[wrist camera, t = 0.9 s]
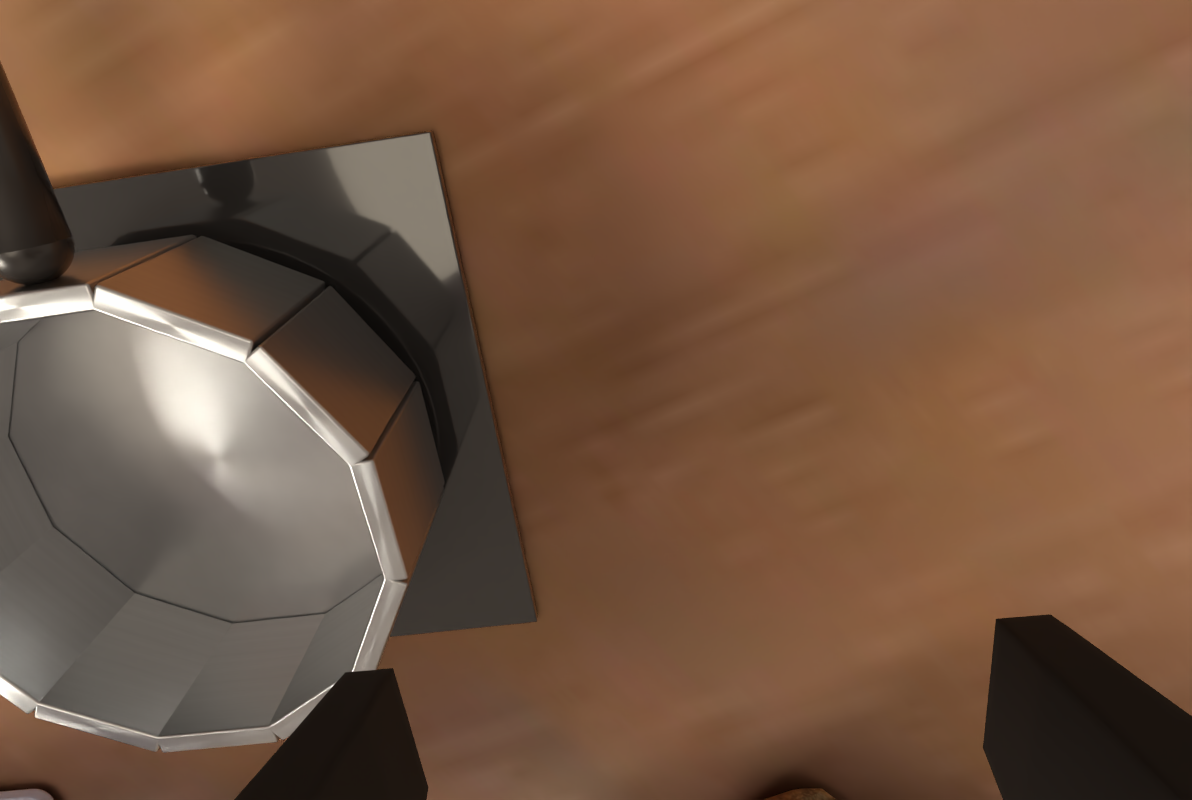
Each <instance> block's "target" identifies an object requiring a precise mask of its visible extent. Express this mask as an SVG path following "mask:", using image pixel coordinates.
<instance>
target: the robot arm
mask: <svg viewBox="0 0 1192 800" xmlns="http://www.w3.org/2000/svg"><path fill="white" fill-rule="evenodd" d="M983 749H984V752H985V754H986V757H987V759H988V762H989V765H990V767H991V770H992V772H993V775H994V777H995V780H996V783H997V785H998V788H999V790H1000V793H1001V796H1002V798H1003V800H1192V716H1191V715H1189V714H1188V713H1186V712H1185V711H1184V710H1182V709H1181V708H1179V707H1178V706H1177V705H1175V704H1174V703H1172V702H1171V701H1170V700H1168V699H1167V698H1165V697H1164V696H1163V695H1161V694H1160V693H1159V692H1157V691H1156V690H1154V689H1153V688H1152V687H1150V686H1149V685H1148V684H1146V683H1145V682H1143V681H1142V680H1141V679H1139V678H1138V677H1137V676H1135V675H1134V674H1132V673H1131V672H1130V671H1128V670H1127V669H1126V668H1124V667H1123V666H1121V665H1120V664H1119V663H1117V662H1116V661H1115V660H1113V659H1112V658H1110V657H1109V656H1108V655H1106V654H1105V653H1104V652H1102V651H1101V650H1100V649H1098V648H1097V647H1095V646H1094V645H1093V644H1091V643H1090V642H1089V641H1087V640H1086V639H1084V638H1083V637H1082V636H1080V635H1079V634H1077V633H1076V632H1075V631H1073V630H1072V629H1070V628H1069V627H1068V626H1066V625H1065V624H1063V623H1062V622H1060V621H1059V620H1058V619H1056V618H1055V617H1053V616H1052V615H1039V616H1027V617H1014V618H1002V619H996V625H995V635H994V644H993V654H992V664H991V674H990V684H989V694H988V704H987V714H986V723H985V733H984V743H983ZM427 792H428V785H427V781H426V778H425V775H424V771H423V768H422V764H421V761H420V758H419V754H418V751H417V748H416V744H415V741H414V737H413V734H412V731H411V727H410V724H409V721H408V717H407V714H406V710H405V707H404V704H403V700H402V697H401V694H400V690H399V687H398V683H397V680H396V677H395V673H394V670H393V668H392V669H380V670H368V671H355V672H345V673H344V674H343V675H342V677H341V678H340V679H339V680H338V681H337V682H336V683H335V684H334V686H333V687H332V688H331V689H330V690H329V691H328V692H327V694H326V695H325V696H324V697H323V698H322V699H321V700H320V702H319V703H318V704H317V705H316V706H315V707H314V709H313V710H312V711H311V712H310V713H309V714H308V715H307V717H306V718H305V719H304V720H303V721H302V722H301V724H300V725H299V726H298V727H297V728H296V729H295V731H294V732H293V733H292V734H291V735H290V736H289V738H288V739H287V740H286V741H285V742H284V743H283V745H282V746H281V747H280V748H279V749H278V750H277V752H276V753H275V754H274V755H273V756H272V757H271V758H270V760H269V761H268V762H267V763H266V764H265V765H264V767H263V768H262V769H261V770H260V771H259V772H258V773H257V775H256V776H255V777H254V778H253V779H252V780H251V781H250V782H249V784H248V785H247V786H246V787H245V788H244V789H243V790H242V791H241V793H240V794H239V795H238V796H237V797H236V798H235V799H234V800H426V799H427ZM0 800H54V799H53V797H52V796H51V795H50V794H49V793H47V792H46V791H44V790H41V789H24V790H13V791H2V792H0Z"/></svg>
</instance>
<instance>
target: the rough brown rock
mask: <svg viewBox="0 0 1192 800" xmlns="http://www.w3.org/2000/svg"><path fill="white" fill-rule="evenodd" d="M764 800H836V799H835V798H834V797H832V796H831V795H830V794H828V793H827V792H826V791H824V790H823V789H796V790H791V791H788V792H785V793H782V794H779V795H776V796H773V797H770V798H767V799H764Z"/></svg>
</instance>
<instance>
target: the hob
mask: <svg viewBox="0 0 1192 800" xmlns="http://www.w3.org/2000/svg"><path fill="white" fill-rule="evenodd" d="M53 190H54V192H55V195H56V197H57V200H58V202H59V204H60V207H61V209H62V212H63V214H64V216H65V219H66V221H67V224H68V226H69V229H70V231H71V233H72V236H73V240H74V243H75V252H77V251H83V250H90V249H97V248H104V247H111V246H118V245H125V244H131V243H138V242H145V241H152V240H159V239H166V238H173V237H180V236H187V235H195V236H196V238H198V237H200V236H205V237H207V238H210V239H213V240H215V241H218V242H220V243H223V244H226V245H228V246H231V247H234V248H236V249H239V250H242V251H244V252H247V253H250V254H252V255H255V256H258V257H260V258H263V259H266V260H268V261H271V262H274V263H276V264H279V265H282V266H284V267H287V268H290V269H292V270H295V271H298V272H300V273H303V274H306V275H308V276H311V277H314V278H316V279H319V280H322V281H324V282H325V285H329V284H334V285H335V289H336V292H337V293H338V294H339V295H340V296H341V297H342V298H343V299H344V300H345V301H346V302H347V303H348V304H349V305H350V307H351V308H352V309H353V310H354V311H355V312H356V313H357V314H358V315H359V316H360V317H361V318H362V319H363V320H364V321H365V322H366V324H367V325H368V326H369V327H370V328H371V329H372V330H373V331H374V332H375V333H376V334H377V335H378V336H379V337H380V338H381V339H382V341H383V342H384V343H385V344H386V345H387V346H388V347H389V348H390V349H391V350H392V351H393V352H394V353H395V354H396V355H397V356H398V358H399V359H400V360H401V361H402V362H403V363H404V364H405V365H406V366H407V367H408V368H409V369H410V370H411V371H412V372H413V373H414V375H415V376H416V377H415V379H414V381H413V382H419V383H420V387H421V391H422V395H423V399H424V403H425V406H426V410H427V414H428V418H429V422H430V426H431V430H432V434H433V438H434V442H435V446H436V450H437V454H438V458H439V462H440V465H441V469H442V473H443V477H444V481H445V483H444V486H443V487H444V492H443V495H442V498H441V501H440V503H439V506H438V509H437V511H436V514H435V517H434V519H433V522H432V525H431V527H430V530H429V533H428V536H427V538H426V541H425V544H424V546H423V549H422V552H421V554H420V557H419V560H418V562H417V565H416V568H415V571H414V573H413V576H412V579H411V581H410V584H409V586H408V589H407V592H406V594H405V597H404V600H403V602H402V605H401V608H400V610H399V613H398V615H397V618H396V621H395V623H394V626H393V629H392V631H391V634H390V637H394V636H404V635H414V634H423V633H433V632H443V631H452V630H462V629H472V628H482V627H491V626H501V625H511V624H521V623H530V622H537V618H538V613H537V609H536V604H535V600H534V595H533V590H532V586H531V581H530V576H529V572H528V567H527V563H526V558H525V553H524V549H523V544H522V539H521V535H520V530H519V526H518V521H517V516H516V512H515V507H514V502H513V498H512V493H511V489H510V484H509V479H508V475H507V470H506V465H505V461H504V456H503V452H502V447H501V442H500V438H499V433H498V428H497V424H496V419H495V415H494V410H493V405H492V401H491V396H490V392H489V387H488V382H487V378H486V373H485V368H484V364H483V359H482V355H481V350H480V345H479V341H478V336H477V331H476V327H475V322H474V318H473V313H472V308H471V304H470V299H469V294H468V290H467V285H466V281H465V276H464V271H463V267H462V262H461V257H460V253H459V248H458V244H457V239H456V234H455V230H454V225H453V220H452V216H451V211H450V207H449V202H448V197H447V193H446V188H445V183H444V179H443V174H442V170H441V165H440V160H439V156H438V151H437V146H436V142H435V137H434V133H433V131H432V130H430V131H424V132H417V133H411V134H404V135H398V136H391V137H384V138H378V139H371V140H365V141H358V142H352V143H345V144H338V145H332V146H325V147H319V148H312V149H306V150H299V151H293V152H286V153H279V154H273V155H266V156H260V157H253V158H247V159H240V160H233V161H227V162H220V163H214V164H207V165H201V166H194V167H187V168H181V169H174V170H168V171H161V172H155V173H148V174H141V175H135V176H128V177H122V178H115V179H109V180H102V181H95V182H89V183H82V184H76V185H69V186H63V187H56V188H53ZM1 280H3V278H1V277H0V281H1Z"/></svg>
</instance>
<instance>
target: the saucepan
mask: <svg viewBox="0 0 1192 800" xmlns="http://www.w3.org/2000/svg"><path fill="white" fill-rule="evenodd" d="M0 277H1V278H3V280H1V281H0V695H2V696H3V697H4V698H6V699H7V700H9V701H10V702H11V703H13V704H14V705H16V706H17V707H18V708H20V709H21V710H23V711H24V712H25V713H28V714H29V713H31V712H32V711H34V710H35V714H34V716H35V717H36V718H38V719H42V720H45V721H49V722H52V723H56V724H59V725H63V726H66V727H70V728H73V729H77V730H81V731H84V732H88V733H91V734H95V735H98V736H102V737H105V738H109V739H112V740H116V741H119V742H123V743H126V744H130V745H133V746H137V747H140V748H144V749H147V750H151V751H154V752H157V751H158V750H159V748H161V750H162V752H164V753H167V752H177V751H188V750H199V749H209V748H220V747H231V746H241V745H252V744H263V743H274V742H277V741H278V740H279V738H280V739H282V740H284V739H286V738H287V737H289V736H290V735H291V734H292V733H293V732H294V731H295V729H296V728H297V727H298V726H299V725H300V724H301V722H302V721H303V720H304V719H305V718H306V717H307V715H308V714H309V713H310V712H311V711H312V710H313V709H314V707H315V706H316V705H317V704H318V703H319V702H320V700H321V699H322V698H323V697H324V696H325V695H326V694H327V692H328V691H329V690H330V689H331V688H332V687H333V686H334V684H335V683H336V682H337V681H338V680H339V679H340V678H341V677H342V675H343V674H344V673H345V672H355V671H368V670H377V668H378V666H379V663H380V660H381V658H382V655H383V652H384V650H385V647H386V645H387V642H388V639H389V637H390V634H391V631H392V629H393V626H394V623H395V621H396V618H397V615H398V613H399V610H400V608H401V605H402V602H403V600H404V597H405V594H406V592H407V589H408V586H409V584H410V581H411V579H412V576H413V573H414V571H415V568H416V565H417V562H418V560H419V557H420V554H421V552H422V549H423V546H424V544H425V541H426V538H427V536H428V533H429V530H430V527H431V525H432V522H433V519H434V517H435V514H436V511H437V509H438V506H439V503H440V501H441V498H442V495H443V492H444V487H443V486H444V483H445V481H444V477H443V473H442V469H441V465H440V462H439V458H438V454H437V450H436V446H435V442H434V438H433V434H432V430H431V426H430V422H429V418H428V414H427V410H426V406H425V403H424V399H423V395H422V391H421V387H420V383H419V382H413V381H414V379H415V377H416V376H415V375H414V373H413V372H412V371H411V370H410V369H409V368H408V367H407V366H406V365H405V364H404V363H403V362H402V361H401V360H400V359H399V358H398V356H397V355H396V354H395V353H394V352H393V351H392V350H391V349H390V348H389V347H388V346H387V345H386V344H385V343H384V342H383V341H382V339H381V338H380V337H379V336H378V335H377V334H376V333H375V332H374V331H373V330H372V329H371V328H370V327H369V326H368V325H367V324H366V322H365V321H364V320H363V319H362V318H361V317H360V316H359V315H358V314H357V313H356V312H355V311H354V310H353V309H352V308H351V307H350V305H349V304H348V303H347V302H346V301H345V300H344V299H343V298H342V297H341V296H340V295H339V294H338V293H337V292H336V289H335V285H334V284H329V285H325V282H324V281H322V280H319V279H316V278H314V277H311V276H308V275H306V274H303V273H300V272H298V271H295V270H292V269H290V268H287V267H284V266H282V265H279V264H276V263H274V262H271V261H268V260H266V259H263V258H260V257H258V256H255V255H252V254H250V253H247V252H244V251H242V250H239V249H236V248H234V247H231V246H228V245H226V244H223V243H220V242H218V241H215V240H213V239H210V238H207V237H205V236H200V237H198V238H196V236H195V235H187V236H180V237H173V238H166V239H159V240H152V241H145V242H138V243H131V244H125V245H118V246H111V247H104V248H97V249H90V250H83V251H77V252H75V243H74V240H73V236H72V233H71V231H70V229H69V226H68V224H67V221H66V219H65V216H64V214H63V212H62V209H61V207H60V204H59V202H58V200H57V197H56V195H55V192H54V190H53V187H52V185H51V183H50V180H49V178H48V175H47V173H46V170H45V168H44V166H43V163H42V161H41V158H40V156H39V154H38V151H37V149H36V146H35V144H34V141H33V139H32V137H31V134H30V132H29V129H28V127H27V124H26V122H25V120H24V117H23V115H22V112H21V110H20V108H19V105H18V103H17V100H16V98H15V95H14V93H13V91H12V88H11V86H10V83H9V81H8V78H7V76H6V74H5V71H4V69H3V66H2V64H1V62H0Z"/></svg>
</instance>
